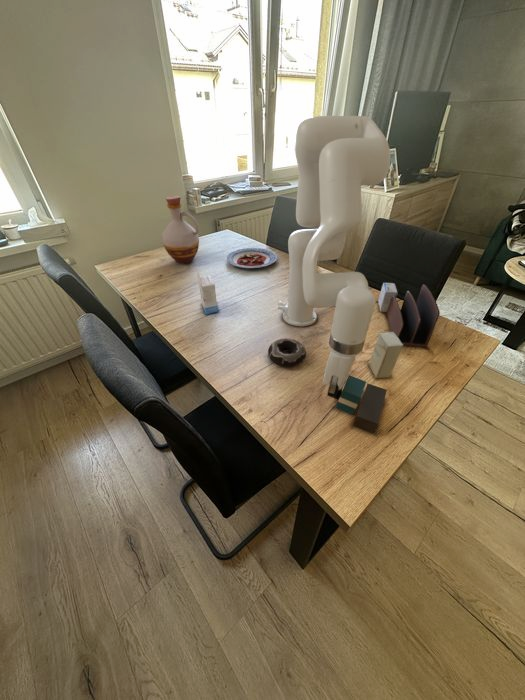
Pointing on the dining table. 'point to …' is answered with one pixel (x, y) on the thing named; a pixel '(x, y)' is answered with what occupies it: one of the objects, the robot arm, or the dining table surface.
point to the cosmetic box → (385, 354)
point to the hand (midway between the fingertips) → (333, 395)
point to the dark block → (370, 408)
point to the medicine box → (386, 296)
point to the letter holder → (414, 318)
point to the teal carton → (351, 394)
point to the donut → (287, 359)
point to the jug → (180, 233)
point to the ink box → (207, 294)
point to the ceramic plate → (251, 258)
